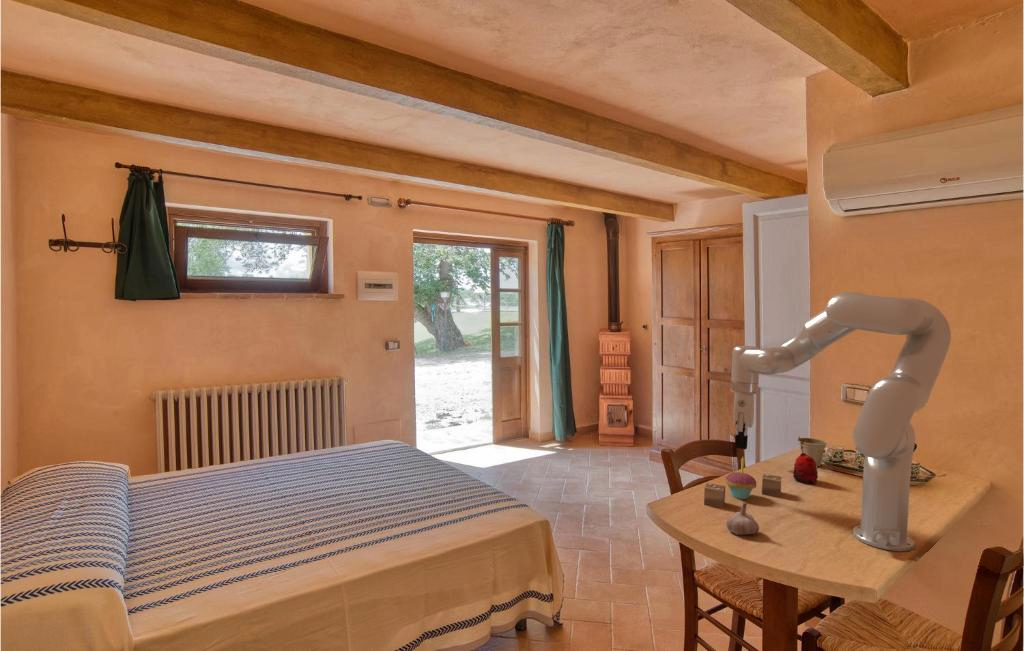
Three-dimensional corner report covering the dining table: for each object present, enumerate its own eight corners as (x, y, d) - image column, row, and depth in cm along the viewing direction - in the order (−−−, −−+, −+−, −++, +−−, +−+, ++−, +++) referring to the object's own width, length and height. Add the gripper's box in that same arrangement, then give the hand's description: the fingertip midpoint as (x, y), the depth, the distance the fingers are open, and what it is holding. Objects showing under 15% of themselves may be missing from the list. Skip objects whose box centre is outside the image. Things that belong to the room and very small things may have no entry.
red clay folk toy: (821, 485, 173) (824, 439, 172) (799, 485, 173) (801, 438, 173) (809, 477, 181) (811, 433, 180) (788, 477, 181) (790, 432, 180)
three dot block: (722, 508, 153) (723, 490, 153) (704, 504, 155) (704, 487, 155) (724, 502, 157) (725, 485, 157) (706, 499, 160) (707, 482, 160)
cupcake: (727, 489, 168) (729, 451, 168) (757, 494, 164) (759, 455, 163) (722, 498, 161) (724, 458, 160) (753, 504, 157) (755, 463, 156)
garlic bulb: (763, 533, 137) (764, 502, 137) (751, 542, 132) (752, 510, 132) (733, 524, 143) (734, 494, 142) (721, 532, 137) (722, 501, 137)
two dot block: (780, 497, 162) (780, 480, 162) (761, 494, 165) (762, 477, 164) (780, 492, 167) (781, 476, 166) (762, 489, 169) (763, 473, 169)
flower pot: (802, 458, 202) (803, 436, 202) (830, 465, 195) (831, 441, 195) (791, 463, 196) (792, 440, 196) (819, 470, 189) (820, 445, 188)
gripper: (756, 392, 152) (752, 456, 154) (760, 385, 166) (756, 444, 167) (727, 389, 156) (724, 452, 157) (733, 382, 169) (730, 440, 170)
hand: (740, 447), depth 162 cm, fingers closed
